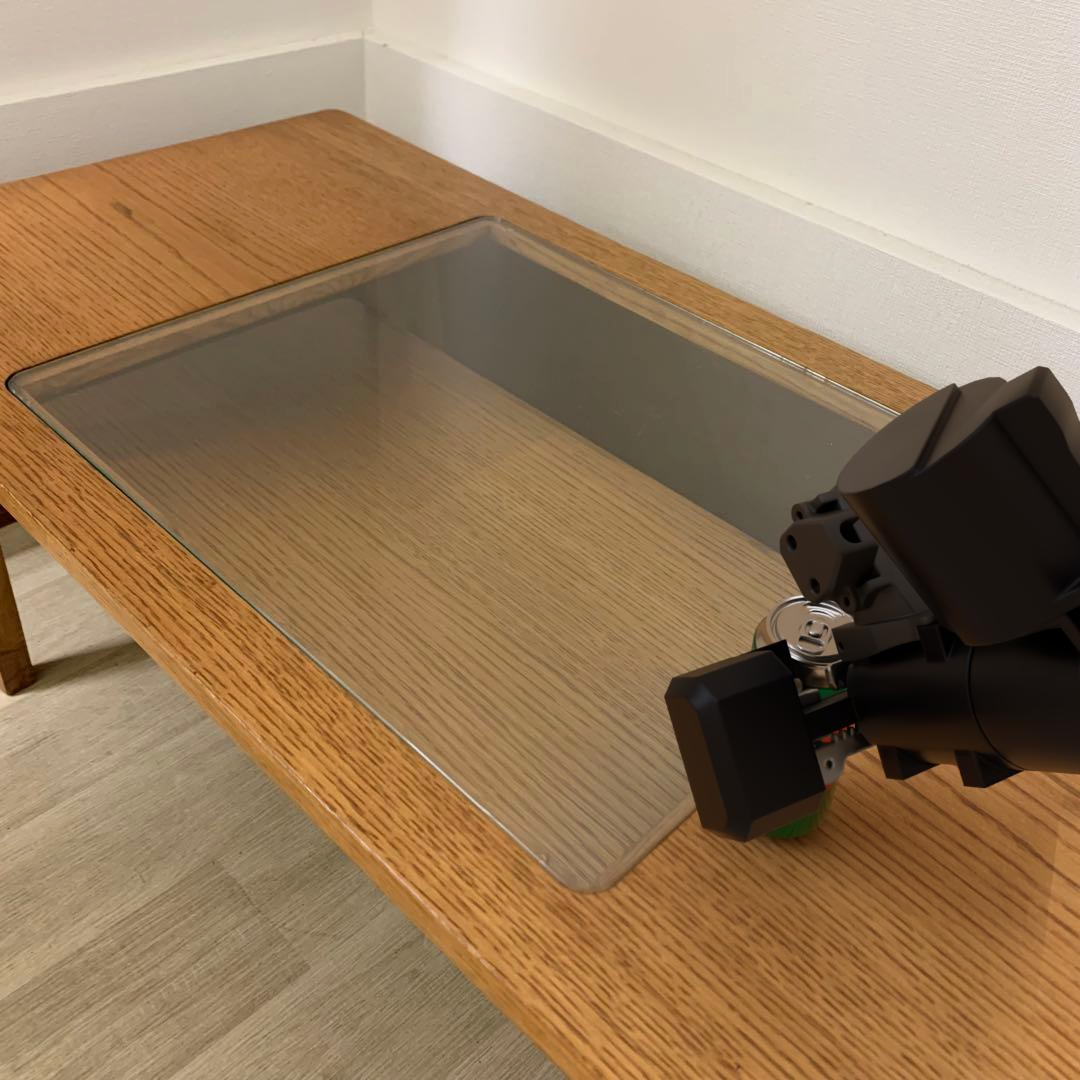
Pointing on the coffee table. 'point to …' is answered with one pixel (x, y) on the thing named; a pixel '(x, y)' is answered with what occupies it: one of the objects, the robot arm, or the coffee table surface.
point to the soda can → (805, 669)
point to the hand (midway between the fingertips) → (774, 688)
